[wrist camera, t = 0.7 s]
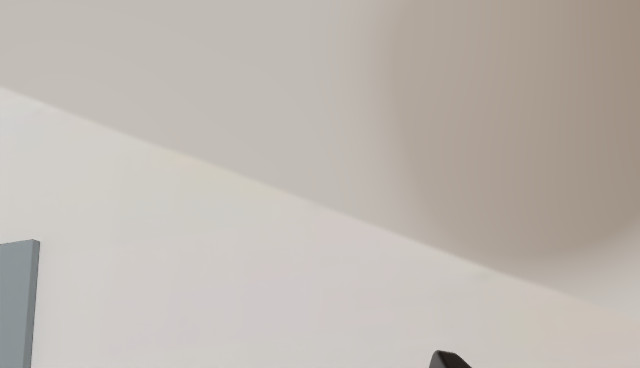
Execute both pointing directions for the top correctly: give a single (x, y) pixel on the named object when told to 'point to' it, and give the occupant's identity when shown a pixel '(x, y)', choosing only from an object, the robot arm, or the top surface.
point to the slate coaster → (17, 301)
